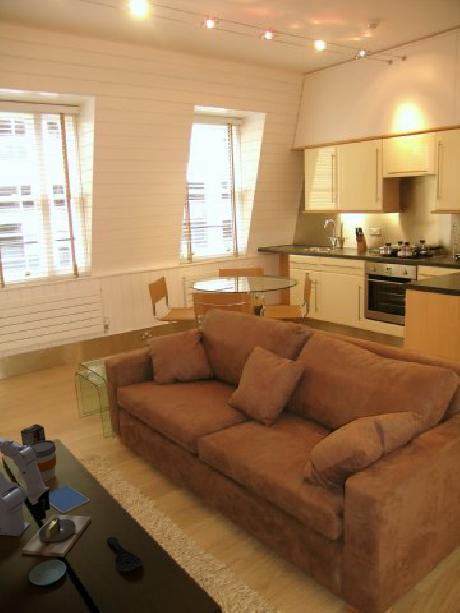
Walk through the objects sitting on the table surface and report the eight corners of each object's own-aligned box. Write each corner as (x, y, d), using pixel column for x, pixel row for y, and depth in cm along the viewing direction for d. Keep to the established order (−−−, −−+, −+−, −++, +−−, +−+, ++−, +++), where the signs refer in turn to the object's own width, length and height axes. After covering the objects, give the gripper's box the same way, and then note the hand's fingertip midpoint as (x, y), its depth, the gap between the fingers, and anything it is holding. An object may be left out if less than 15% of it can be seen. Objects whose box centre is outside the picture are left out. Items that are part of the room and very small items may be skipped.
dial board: (22, 553, 193) (21, 549, 192) (53, 517, 214) (53, 513, 213) (63, 557, 190) (62, 552, 189) (91, 520, 211) (90, 516, 210)
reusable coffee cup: (38, 469, 254) (34, 439, 251) (63, 469, 252) (59, 439, 249) (25, 483, 242) (20, 452, 239) (51, 483, 240) (47, 452, 237)
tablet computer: (40, 498, 229) (39, 496, 229) (67, 486, 238) (66, 483, 238) (62, 515, 216) (62, 512, 215) (90, 502, 224) (90, 499, 224)
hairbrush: (119, 528, 200) (147, 560, 179) (120, 537, 201) (148, 570, 180) (97, 536, 196) (123, 570, 175) (98, 546, 197) (124, 581, 176)
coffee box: (40, 453, 270) (36, 423, 266) (48, 456, 266) (44, 426, 263) (24, 461, 262) (19, 430, 259) (32, 464, 259) (27, 433, 255)
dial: (50, 520, 209) (49, 508, 208) (81, 522, 206) (80, 510, 205) (32, 541, 196) (30, 529, 195) (65, 544, 194) (63, 531, 193)
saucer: (54, 560, 188) (53, 555, 187) (74, 574, 180) (73, 568, 180) (22, 580, 179) (21, 574, 179) (42, 596, 172) (41, 589, 171)
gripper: (40, 483, 191) (52, 518, 192) (47, 469, 205) (59, 502, 206) (20, 490, 190) (32, 525, 191) (29, 475, 204) (40, 508, 205)
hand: (45, 514), depth 198 cm, fingers open, 7 cm apart
